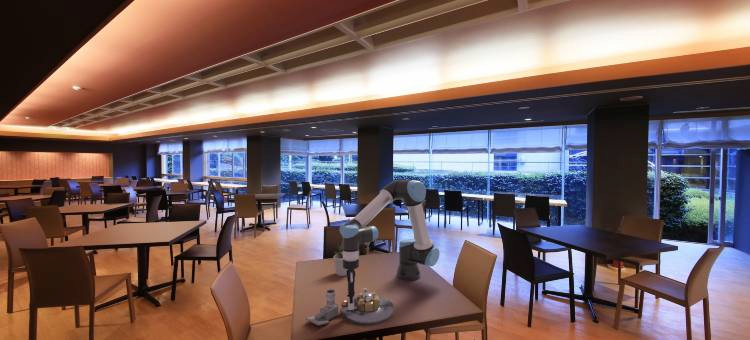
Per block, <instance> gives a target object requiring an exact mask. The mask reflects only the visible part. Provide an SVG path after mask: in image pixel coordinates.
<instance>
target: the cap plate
mask: <svg viewBox="0 0 750 340" xmlns="http://www.w3.org/2000/svg"><path fill="white" fill-rule="evenodd" d="M377 296H378V297H379V299H380V307H379V308H378V309H377V310H375V311H374V310H373V311H369V312H365V311H364V312H363V311H361V310H358V309H357V307H354V310H348V307H341V314H342V316H343V318H344V319H345V320H347V321H348V322H351V323H353V324H356V325H363V326H364V325H365V326H372V325H377V324H382V323H384V321H385V322H386V320H387V321H389V320H390V319H391V318H392V317H393V315H394V308H395V307H394V306H395V305H394V304H393V302H392V301H391V300H390V299H387V298H386V297H383V296H379V295H377ZM363 299H365V302H372V301H373V294H372V292H369V291H368V288H367V287H363Z"/></svg>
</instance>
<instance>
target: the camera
mask: <svg viewBox="0 0 750 340" xmlns="http://www.w3.org/2000/svg"><path fill="white" fill-rule="evenodd" d="M335 297H336V289H334V288H328V289H326V291H325V298H326V304H325V305H324V306H322V307H320V308H319V312H317V313H316V314H314V316H309V317H305V318H304V320H305V321H308V322H309V323H312V324H314V325H317V326H323V325H327V324H330V320H331V319H333V318H334V317H337V316H338V315H339V303H337V302H336V301H335V299H336V298H335Z"/></svg>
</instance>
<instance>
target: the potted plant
mask: <svg viewBox="0 0 750 340" xmlns="http://www.w3.org/2000/svg"><path fill="white" fill-rule="evenodd" d="M337 245H338V246H336V248H337V249H338V252H337V251H334V254H335V255H333V257H332V258H333V262H334V268H335V273H336V275H337V276H339V277H347V270H348V269H344V268H343V254H341V253H342V252H343V244H340V245H339V244H337Z"/></svg>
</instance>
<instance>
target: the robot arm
mask: <svg viewBox="0 0 750 340" xmlns="http://www.w3.org/2000/svg"><path fill="white" fill-rule="evenodd" d="M426 194H427V189H426V186H425V185H424V183H423V182H422V181H419V180H415V179H412V180H411V179H396V180H394V181H392V182H390V183H388V184H387V185H385V186H384V187H383V188H382V189H381V190H379V194H378V195H377V196H375V198H373V199H372V200H371V202H369V203H368V204H367V205H366V206H365V207H363V209H362V210H360V212H359V213H358V214H356V215H355V216H354V217H353V218H352V219H351V220H350V221H349V222H348V221H346V222H343V223H341V224H340V227H339V233H340V235H341V236H342V247H343V252H342V253H340V254H343V268H344V269H348V270H347V276H346V280H347V294H346V297H347V300H348V310H354V297H355V294H356V292H355V281H356V279H355V278H356V271H355V270H358V268H359V266H360V265H359V264H360V263H359V262H360V259H359V258H360V245H363V244H367V243H368V244H369V243H372V242H375V241H377V239H378V238H379V230H378V228H377V227H376V226H375V225H369V226H367V225H368V224H369V223H370V222H371V221H372V220H373V219H374V218H375V217H376V216H377V215H378V214H379V213H381V212H382V210H383V209H384V208H385V207H386V206H387V205H388V204H392V203H393V202H394V201H396V200H400V201H401V200H402V202H403V206H404V207H406V208H407V211H408V216H409V220H410V224H411V229H412V232H413V237H414V238H407V239H402V240H400V242H399V245H398V247H399V251H398V255H399V262H398V267H397V270H396V277H397V278H398V279H400V280H405V281H415V280H418V279H420V278H421V271H420V267H419V265H418V264H420V265H423V266H426V267H434V266H435V265H436V264H437V263H438V261H439V258H440V249H439V248H438V247H437V246H435V245H434V241H433V240H432V239H430V234H429V229H428V225H427V221H426V216H425V212H424V208H423V203H424V202H425V201H424V200H425V199H426Z"/></svg>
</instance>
